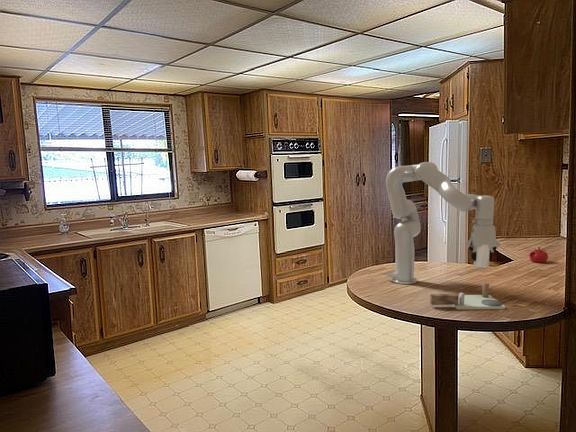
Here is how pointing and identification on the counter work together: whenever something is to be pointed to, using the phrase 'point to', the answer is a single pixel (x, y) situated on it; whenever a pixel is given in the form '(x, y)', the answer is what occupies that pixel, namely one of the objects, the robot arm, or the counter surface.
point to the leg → (444, 299)
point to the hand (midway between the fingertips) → (481, 260)
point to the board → (479, 300)
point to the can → (482, 257)
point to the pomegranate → (538, 256)
